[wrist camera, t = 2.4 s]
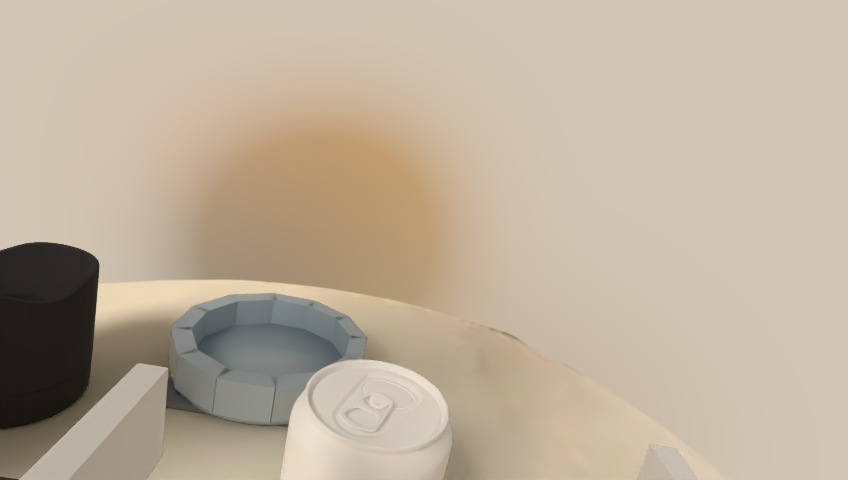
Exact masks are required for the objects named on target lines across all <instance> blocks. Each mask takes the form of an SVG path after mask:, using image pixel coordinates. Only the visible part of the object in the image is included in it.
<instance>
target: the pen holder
mask: <svg viewBox="0 0 848 480" xmlns="http://www.w3.org/2000/svg"><path fill="white" fill-rule="evenodd" d="M98 277H99V262H98V260H97V259H96V258H95V257H94V256H93V255H92V254H90V253H88V252H86V251H84V250H81V249H79V248H75V247H72V246H67V245H63V244H57V243H48V242H34V243H26V244H22V245H17V246H14V247H11V248H7V249H4V250H1V251H0V428H9V427H16V426H21V425H25V424H30V423H33V422H37V421H40V420H43V419H45V418H48V417H50V416H53V415H55V414H57V413H59V412H61V411H63V410H64V409H66V408H67V407H69V406H70V405H71V404H73V403H74V402H75V401H76V400H77V399H78V398H79V397H80V396H81V395H82V394H83V393H84V391H85V390H86V388H87V386H88V383H89V377H90V369H91V359H92V351H93V338H94V326H95V314H96V302H97V289H98Z"/></svg>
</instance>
